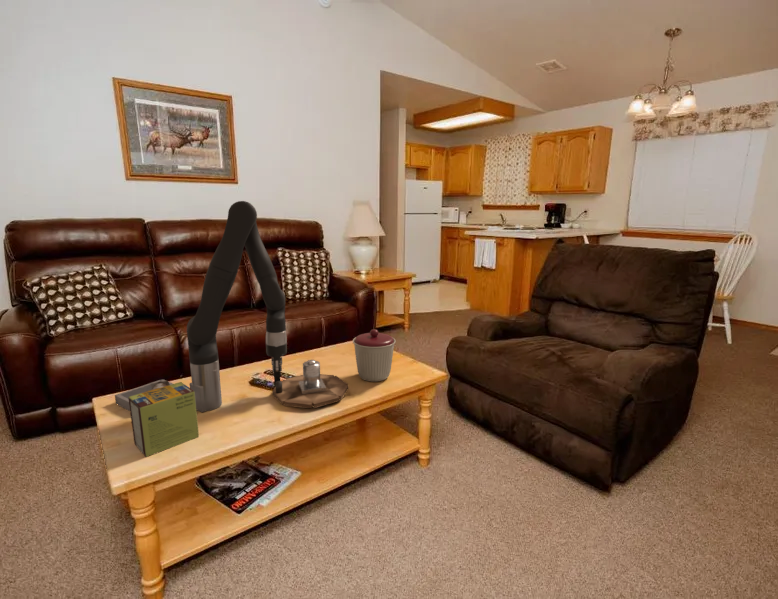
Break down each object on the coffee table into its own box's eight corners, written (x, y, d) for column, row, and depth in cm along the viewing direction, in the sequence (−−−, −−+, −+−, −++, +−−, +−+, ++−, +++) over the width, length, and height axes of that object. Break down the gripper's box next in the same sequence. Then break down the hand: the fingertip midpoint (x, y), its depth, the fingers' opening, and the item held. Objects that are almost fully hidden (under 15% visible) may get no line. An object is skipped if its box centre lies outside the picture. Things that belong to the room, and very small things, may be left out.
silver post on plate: (326, 391, 157) (325, 363, 155) (302, 394, 154) (301, 366, 152) (321, 382, 165) (320, 355, 163) (298, 385, 162) (297, 358, 160)
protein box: (199, 436, 130) (195, 390, 126) (145, 457, 118) (139, 407, 115) (185, 425, 136) (181, 381, 133) (133, 444, 125) (127, 396, 122)
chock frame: (138, 415, 142) (137, 406, 142) (116, 404, 150) (114, 395, 150) (186, 396, 157) (185, 388, 156) (163, 387, 165) (162, 379, 164)
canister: (366, 389, 165) (366, 338, 160) (345, 374, 180) (344, 327, 175) (403, 379, 174) (404, 331, 170) (381, 366, 189) (381, 321, 185)
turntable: (334, 410, 145) (334, 395, 144) (262, 403, 149) (261, 389, 148) (353, 379, 171) (353, 367, 170) (291, 375, 175) (291, 362, 174)
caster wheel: (132, 416, 147) (146, 400, 156) (163, 410, 146) (175, 394, 156) (124, 401, 144) (138, 385, 154) (155, 394, 144) (168, 379, 153)
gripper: (266, 337, 160) (267, 379, 164) (265, 348, 148) (267, 393, 151) (286, 336, 162) (286, 377, 166) (287, 347, 150) (288, 391, 153)
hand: (277, 385), depth 159 cm, fingers closed
